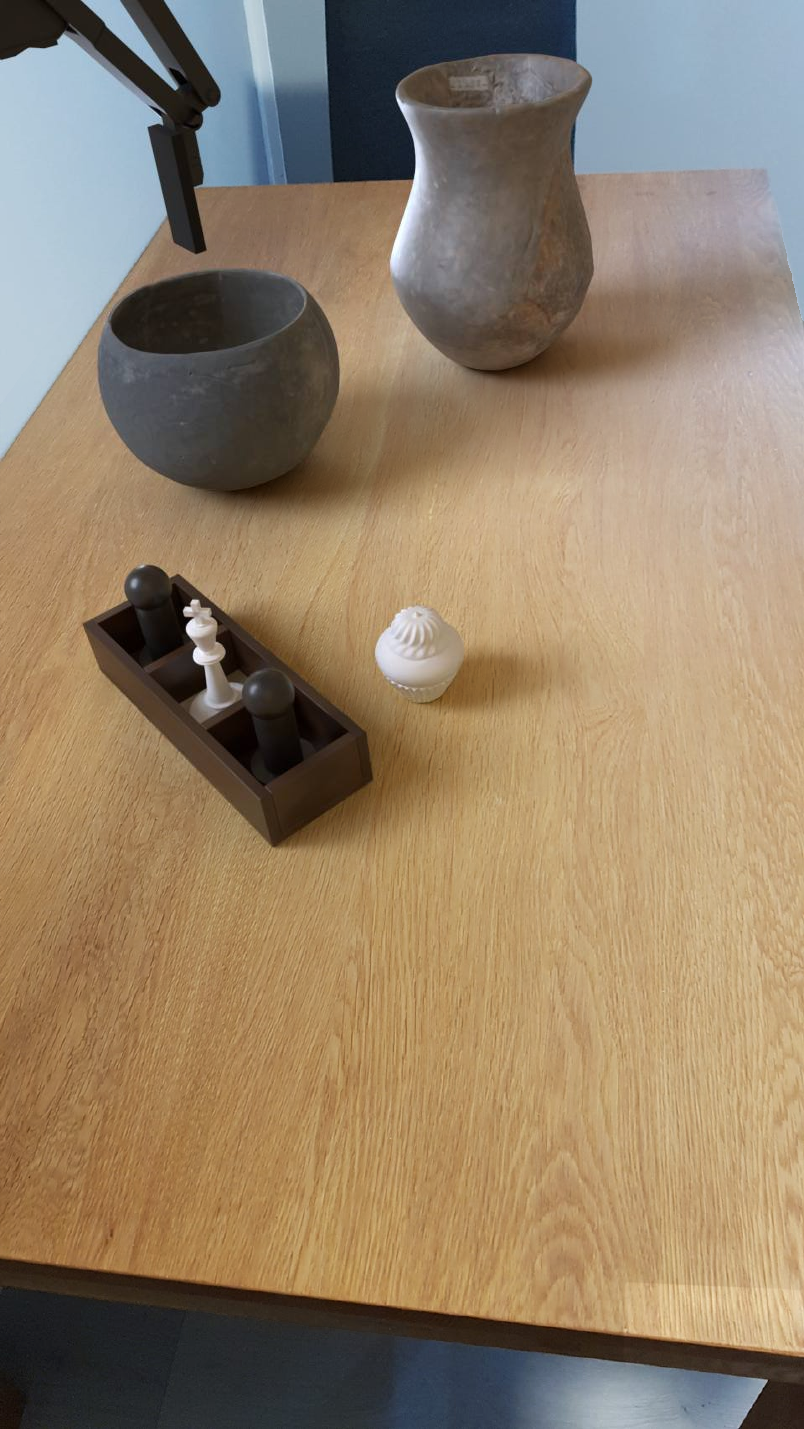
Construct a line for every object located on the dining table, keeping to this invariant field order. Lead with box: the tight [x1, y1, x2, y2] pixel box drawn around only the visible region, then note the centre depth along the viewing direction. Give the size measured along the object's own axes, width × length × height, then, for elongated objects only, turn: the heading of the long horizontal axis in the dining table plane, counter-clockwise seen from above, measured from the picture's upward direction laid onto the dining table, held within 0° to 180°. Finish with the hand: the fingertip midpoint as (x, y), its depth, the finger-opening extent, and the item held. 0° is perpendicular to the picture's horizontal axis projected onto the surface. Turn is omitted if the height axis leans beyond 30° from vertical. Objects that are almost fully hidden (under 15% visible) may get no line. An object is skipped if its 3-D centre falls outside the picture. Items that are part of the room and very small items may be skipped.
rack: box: [82, 573, 374, 848], centre depth 74 cm, size 8×23×5 cm, turn 40°
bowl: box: [97, 267, 341, 492], centre depth 93 cm, size 20×20×15 cm
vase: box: [389, 53, 595, 371], centre depth 101 cm, size 20×19×25 cm
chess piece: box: [183, 600, 244, 724], centre depth 71 cm, size 5×5×10 cm
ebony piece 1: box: [123, 564, 193, 668], centre depth 76 cm, size 4×4×9 cm
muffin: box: [374, 604, 465, 704], centre depth 74 cm, size 6×6×7 cm
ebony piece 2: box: [242, 668, 317, 786], centre depth 67 cm, size 4×4×9 cm
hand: (90, 284), depth 62 cm, fingers open, 13 cm apart
